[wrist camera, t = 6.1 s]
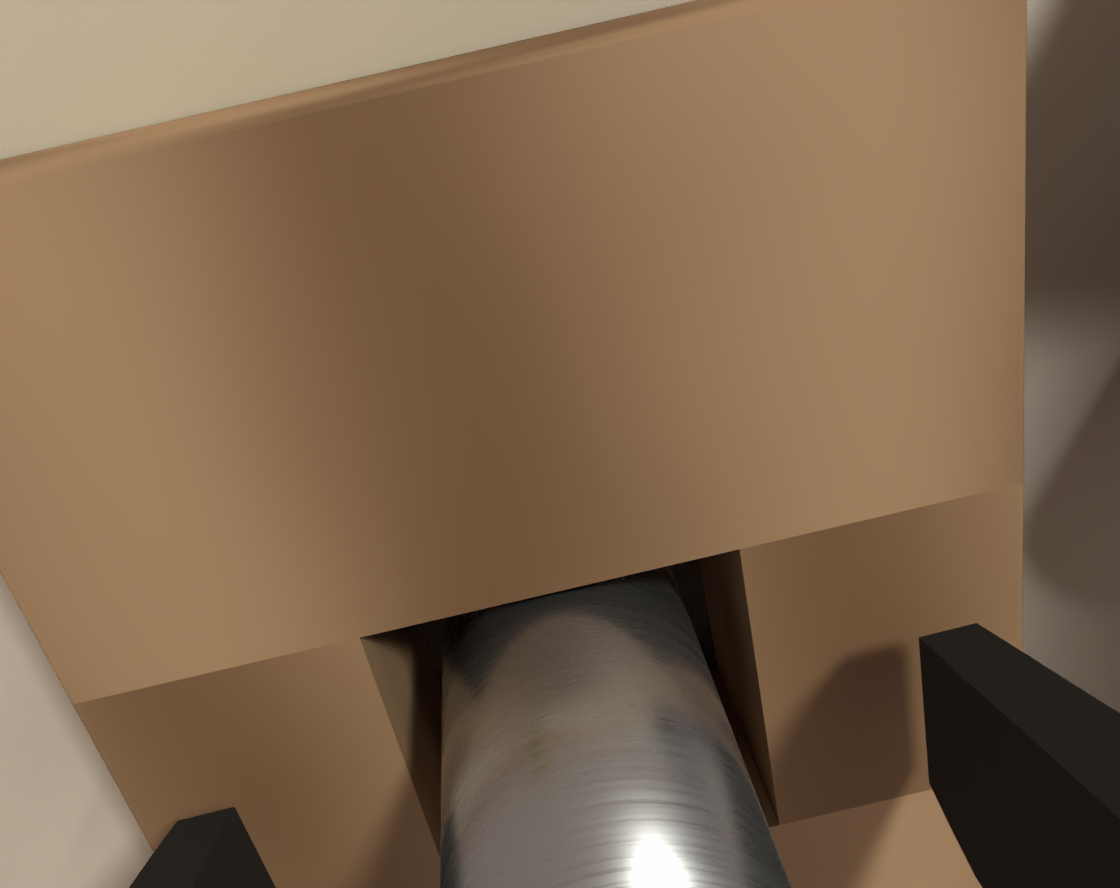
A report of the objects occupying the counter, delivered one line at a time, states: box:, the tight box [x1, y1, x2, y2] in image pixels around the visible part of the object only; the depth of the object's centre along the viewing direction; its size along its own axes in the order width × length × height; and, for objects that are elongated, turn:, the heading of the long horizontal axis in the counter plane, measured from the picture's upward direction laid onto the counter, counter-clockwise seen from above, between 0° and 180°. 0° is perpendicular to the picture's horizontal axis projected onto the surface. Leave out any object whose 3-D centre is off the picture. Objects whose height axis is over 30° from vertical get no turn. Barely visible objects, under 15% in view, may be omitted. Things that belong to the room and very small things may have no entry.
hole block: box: [0, 0, 1027, 888], centre depth 12 cm, size 10×14×3 cm
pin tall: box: [440, 566, 792, 888], centre depth 10 cm, size 3×3×7 cm
